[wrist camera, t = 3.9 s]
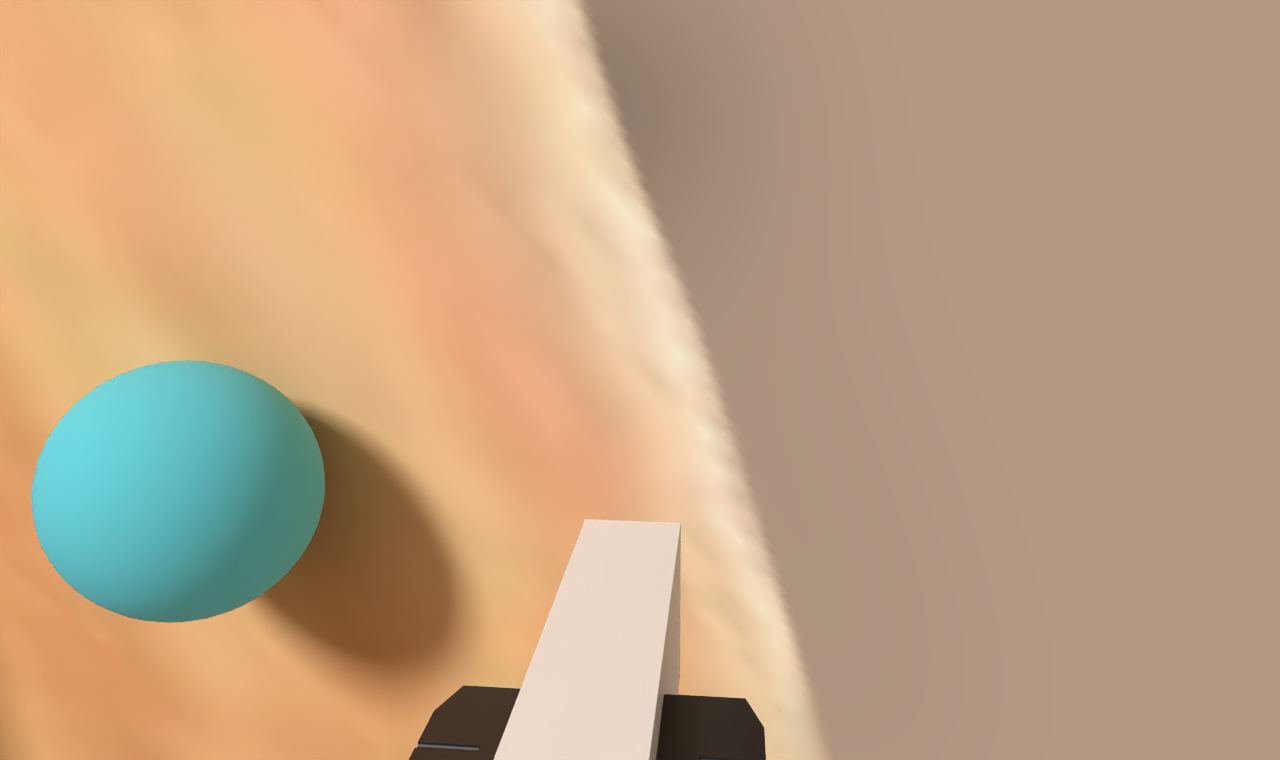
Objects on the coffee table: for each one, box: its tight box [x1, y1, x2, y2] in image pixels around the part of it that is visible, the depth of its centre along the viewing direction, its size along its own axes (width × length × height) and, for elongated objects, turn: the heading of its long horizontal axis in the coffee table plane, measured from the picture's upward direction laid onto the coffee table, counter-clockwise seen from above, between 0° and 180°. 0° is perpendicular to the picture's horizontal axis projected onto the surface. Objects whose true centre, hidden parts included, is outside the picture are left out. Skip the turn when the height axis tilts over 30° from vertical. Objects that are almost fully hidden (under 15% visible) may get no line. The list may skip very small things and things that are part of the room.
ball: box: [32, 361, 325, 622], centre depth 18 cm, size 6×6×6 cm
